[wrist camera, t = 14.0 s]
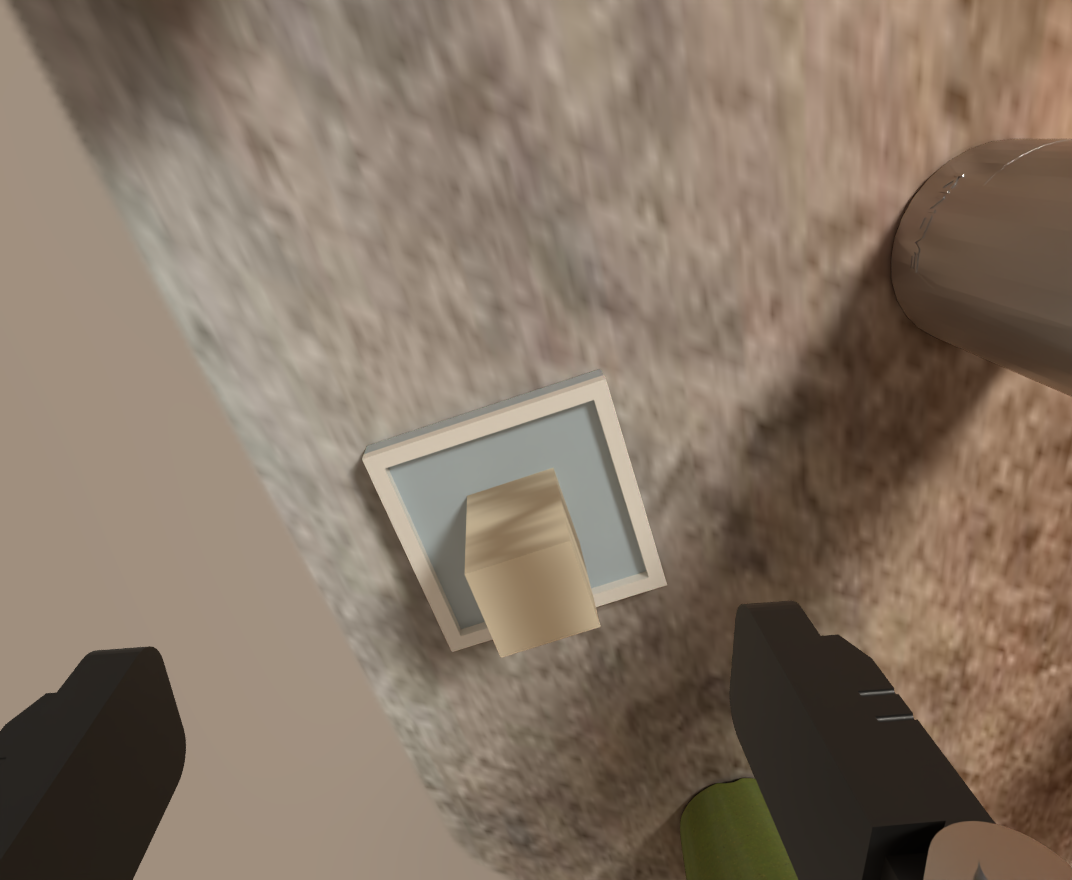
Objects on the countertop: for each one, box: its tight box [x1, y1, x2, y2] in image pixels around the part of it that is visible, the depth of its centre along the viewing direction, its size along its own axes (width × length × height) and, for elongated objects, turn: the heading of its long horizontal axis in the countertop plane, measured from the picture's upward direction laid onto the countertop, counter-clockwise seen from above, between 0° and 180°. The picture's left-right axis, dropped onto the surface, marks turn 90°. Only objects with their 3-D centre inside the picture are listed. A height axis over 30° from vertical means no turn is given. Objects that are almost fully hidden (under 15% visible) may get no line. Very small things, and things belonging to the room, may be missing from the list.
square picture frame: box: [362, 369, 667, 652], centre depth 37 cm, size 12×12×2 cm
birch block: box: [465, 468, 601, 658], centre depth 33 cm, size 4×4×7 cm
